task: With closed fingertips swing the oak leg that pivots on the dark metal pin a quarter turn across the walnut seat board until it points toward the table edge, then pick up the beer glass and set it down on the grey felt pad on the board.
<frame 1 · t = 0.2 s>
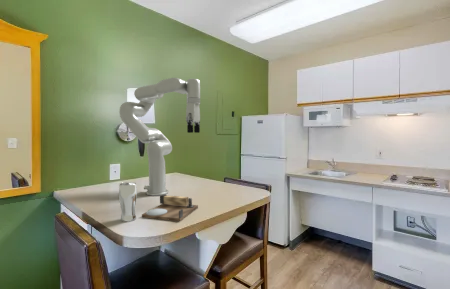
hand: (193, 132, 137), 36 cm above the table, tool pointing down, fingers open, 9 cm apart
beer glass: (128, 219, 102), on the table
felt pad: (156, 214, 108), resting on seat board
leg: (174, 199, 117), point 4 cm above the table, hinge at 0.0°
seat board: (171, 212, 111), on the table
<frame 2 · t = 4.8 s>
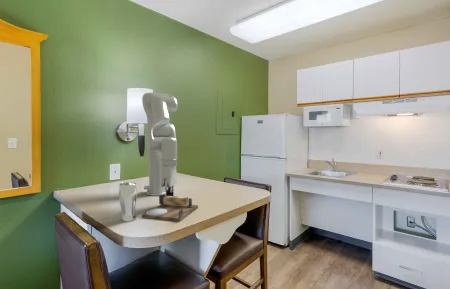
hand: (169, 199, 121), 3 cm above the table, tool pointing down, fingers closed
leg: (173, 200, 117), point 4 cm above the table, hinge at 2.9°, touching gripper
everything else where it was.
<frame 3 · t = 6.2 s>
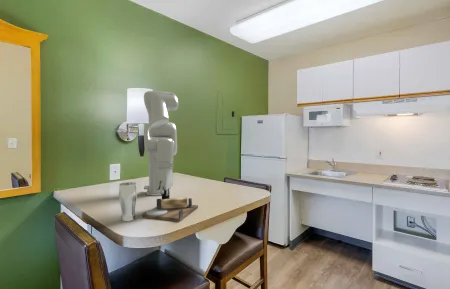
hand: (165, 203, 115), 3 cm above the table, tool pointing down, fingers closed
leg: (172, 202, 113), point 4 cm above the table, hinge at 31.9°, touching gripper
everything else where it was.
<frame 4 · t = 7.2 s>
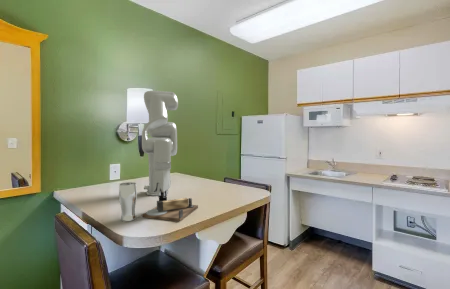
hand: (162, 205, 112), 3 cm above the table, tool pointing down, fingers closed
leg: (172, 203, 111), point 4 cm above the table, hinge at 45.7°, touching gripper
everything else where it was.
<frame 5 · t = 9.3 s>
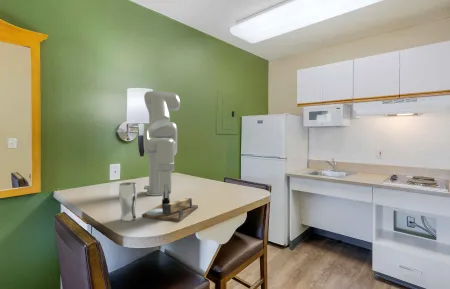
hand: (165, 208, 108), 3 cm above the table, tool pointing down, fingers closed
leg: (176, 205, 108), point 4 cm above the table, hinge at 70.0°, touching gripper
everything else where it was.
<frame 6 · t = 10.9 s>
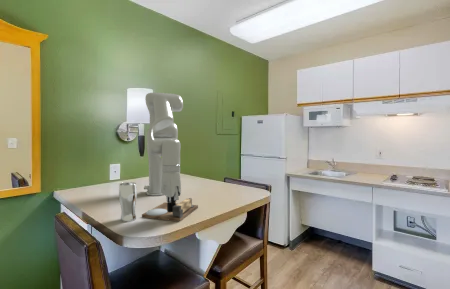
hand: (171, 211, 104), 3 cm above the table, tool pointing down, fingers closed
leg: (182, 206, 107), point 4 cm above the table, hinge at 91.5°, touching gripper, seat board
everything else where it was.
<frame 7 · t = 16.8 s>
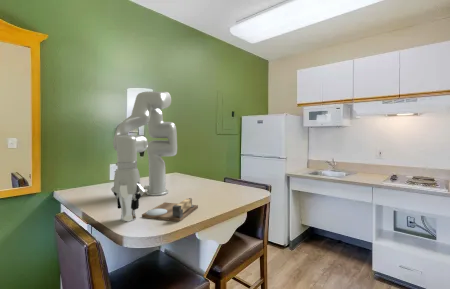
hand: (128, 208, 102), 5 cm above the table, tool pointing down, fingers closed on beer glass, 6 cm apart
beer glass: (128, 219, 102), on the table, touching gripper
leg: (182, 206, 107), point 4 cm above the table, hinge at 91.5°
when the fingers open (7 cm above the table, at t = 23.3 s): beer glass stays where it is, resting on felt pad.
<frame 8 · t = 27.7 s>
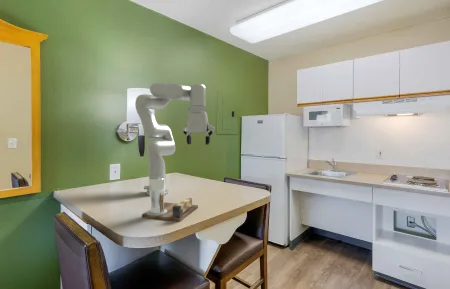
hand: (198, 144, 122), 30 cm above the table, tool pointing down, fingers open, 9 cm apart
beer glass: (157, 212, 108), point 1 cm above the table, touching felt pad
everything else where it was.
at the end: leg at +92° (first picture: +0°); beer glass 0.3 cm from the felt pad (horizontally); beer glass tilted 0° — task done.
